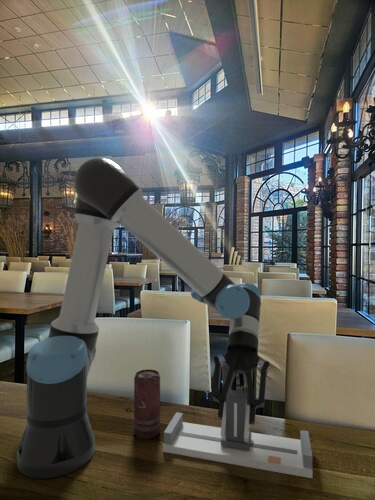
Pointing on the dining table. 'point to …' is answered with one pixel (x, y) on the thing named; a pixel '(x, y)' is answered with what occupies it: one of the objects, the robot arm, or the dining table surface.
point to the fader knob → (236, 420)
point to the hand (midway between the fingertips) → (234, 437)
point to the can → (147, 404)
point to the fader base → (260, 455)
